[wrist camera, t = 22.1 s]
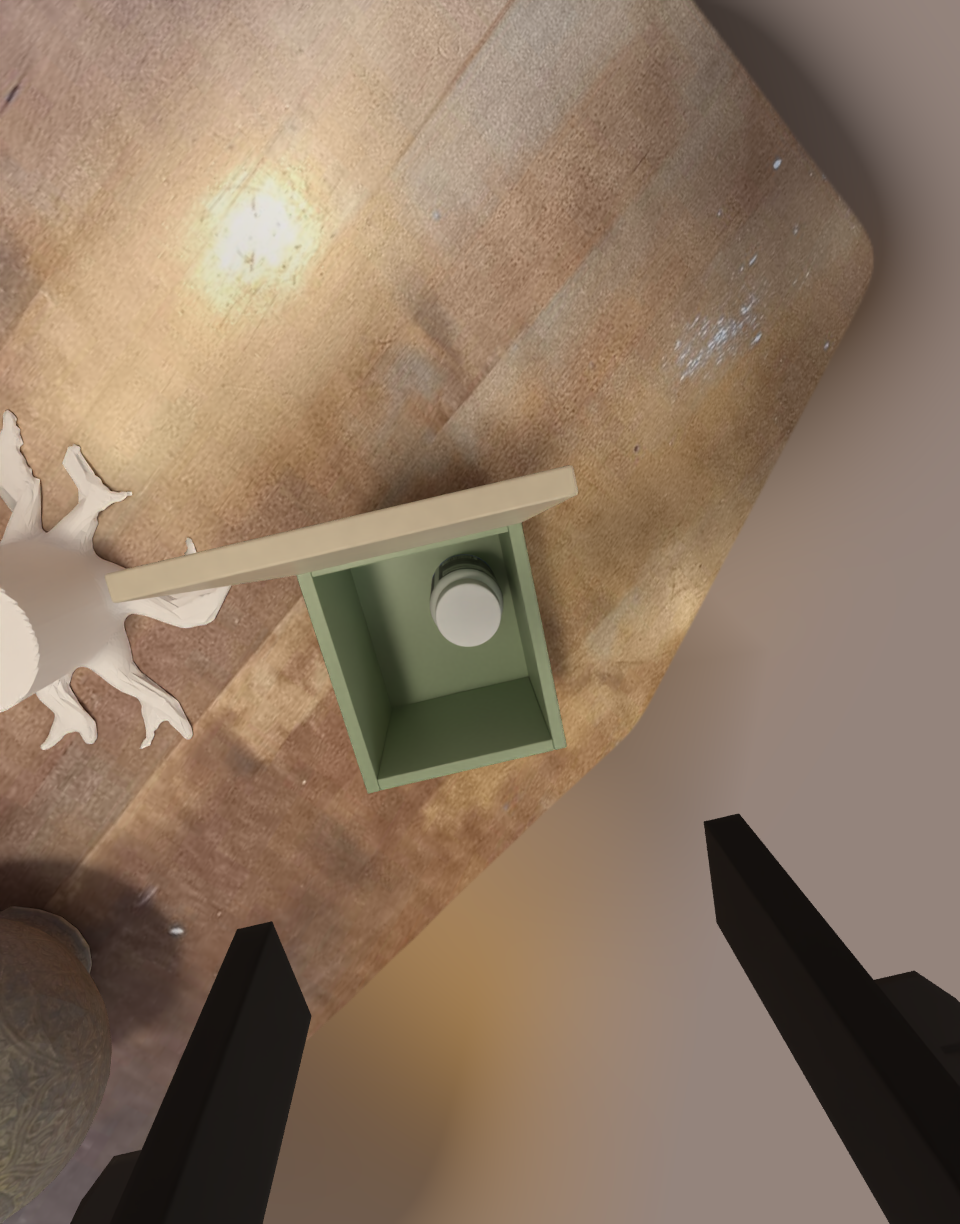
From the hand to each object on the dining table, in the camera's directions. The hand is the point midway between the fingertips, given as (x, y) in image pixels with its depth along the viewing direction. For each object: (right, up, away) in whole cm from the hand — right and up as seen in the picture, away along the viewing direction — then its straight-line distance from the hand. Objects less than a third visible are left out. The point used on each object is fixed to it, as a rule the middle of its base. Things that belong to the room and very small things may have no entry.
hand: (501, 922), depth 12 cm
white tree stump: (-31, +7, +29) cm, 43 cm away
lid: (-4, +9, +10) cm, 14 cm away
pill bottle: (-2, +9, +30) cm, 31 cm away
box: (-3, +7, +31) cm, 32 cm away
